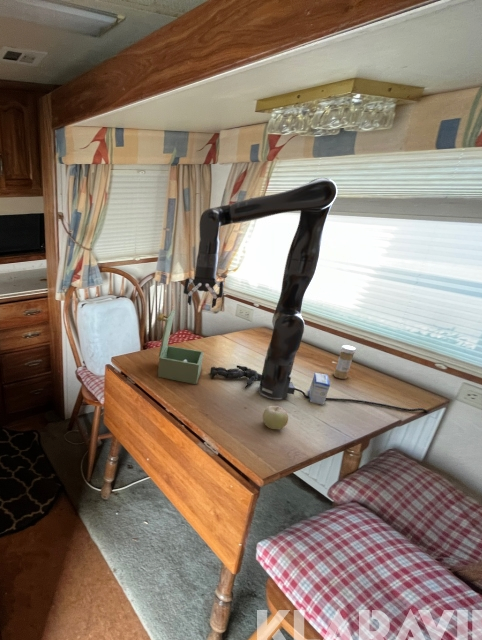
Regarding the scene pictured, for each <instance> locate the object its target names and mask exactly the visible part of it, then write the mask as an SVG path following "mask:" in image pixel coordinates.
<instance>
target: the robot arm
mask: <svg viewBox="0 0 482 640" xmlns="http://www.w3.org/2000/svg"><path fill="white" fill-rule="evenodd" d="M337 195H338V187H337V184H336V183H335V182H334V180H332V179H330V178H328V177H318V178H315V179H312V180H311V181H309V182H307V183H305V184H302V185H299V186H297V187H295V188H292V189H289V190H285V191H282V192H278V193H273V194H268V195H263V196H262V195H261V196H257V197H253V198H248V199H243V200H240V201H236V202H233V203H231V204H226V205H221V206H215V207H210V208H207V209H204V211H203V212H202V214H201V215H200V219H199V244H198V252H197V256H196V263H195V272H194V277H193V278H190V277H187V278H186V279H185V282H184V288H183V294H184V295H187V304H188V306H191V305H192V302H193V294H194V293H196V291H198V292H206V293H207V292H209V293H210V294H211V296H212V301H211V308H212V309H214V308H215V307H216V306H217V301H218V299H219V298H220V299H221V298H222V297H223V296H224V286H225V281H224V280H219V281H218V280H216V279H217V277H216V276H217V270H218V264H219V252H220V251H219V250H220V245H221V244H220V243H221V240H220V237H219V233H220V227H223V226H227V225H231V224H242V223H246V222H251V221H255V220H260V219H263V218H267V217H271V216H275V215H279V214H285V213H289V212H290V213H292V212H300V213H299V220H298V225H297V228H296V231H295V233H294V236H293V238H292V241H291V244H290V247H289V250H288V253H287V257H286V261H285V265H284V271H283V275H282V282H281V291H280V295H279V298H278V301H277V304H276V307H275V310H274V313H273V315H272V318H271V322H272V334H271V338H270V341H269V343H268V344H267V349H266V353H265V356H264V357H265V358H264V362H263V368H262V372H261V375H262V376H261V380H260V381H259V385H258V388H257V390H258V391H257V392H258V393H259V395H261V396H262V397H264V398H266V399H270V400H274V401H281V400H283V401H286V399H287V396H288V395H295V391H297V392H299V393H300V394H302V396H303V397H304V398H307V399H309V400H310V397H309V395H307V394H306V393H305V392H304V390H301V389H300V388H296V387H295V385H294V383H293V382H292V381H291V380H292V370H293V367H294V363H295V359H296V356H297V352H299V349H300V347H301V346H300V345H301V344H302V340H303V336H304V333H305V327H306V325H305V321H304V319H303V317H302V309H303V304H304V303H303V302H304V298H305V295H306V293H307V291H308V289H309V288H310V286H311V284H312V283H313V281H314V278H315V276H316V273H317V270H318V266H319V262H320V260H321V259H320V258H321V255H322V248H323V241H324V231H325V225H326V222H327V219H328V216H329V213H330V211H331V208H332V205H333V203H334V201H335V200H336V198H337ZM191 284H193V285H194V286H193V288H191V290H189V288H190V287H189V286H190V285H191ZM216 285H217V287H218V293H217V292H216V290H215V288H214V287H215V286H216ZM325 401H340V402H341V401H342V402H353V403H354V402H356V403H361V404H367V405H373V406H374V405H375V406H380V407H386V408H389V409H394V410H400V411H406V412H417V411H423V412H424V413H426V414H429V411H428V410H427V409H425V408H422V407H419V408H405V407H399V406H396V405H395V406H394V405H391V404H386V403H379V402H374V401H368V400H362V399H361V400H360V399H353V398H352V399H351V398H338V397H337V398H334V397H326V399H325Z"/></svg>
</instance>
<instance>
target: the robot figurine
mask: <svg viewBox="0 0 482 640" xmlns="http://www.w3.org/2000/svg"><path fill="white" fill-rule="evenodd" d="M216 376H220V377H223V378H224V379H226V380H238V379H242V378H247V380H246V385H245V386H244V388H245V389H247V388H248V387H250V386H252V385H253V383H254V381H259V382H260V380H261V376H262V373H261V374H260V373H259V372H258V371H256V370H255V369H251V368H249V367H247V366H243V365H236V368H228V369H227V368H225V367H221V366H218V367H216V366H211V367H210V378H211V379H215V377H216Z"/></svg>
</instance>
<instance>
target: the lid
mask: <svg viewBox="0 0 482 640" xmlns="http://www.w3.org/2000/svg"><path fill="white" fill-rule="evenodd" d="M175 312H176V309H172V310H171V312H170V313H169V314H168V315H165V314H164V313H160V314H159V316H157V318H156V321H157V322H164V328H163V332H162V337H161V343H160V348H159V351H158V357H159V358H160V357H161V355H162V353H163V352H164V350H165V348H166V347H167V346H169V340H170V336H171V331H172V326H173V322H174V318H175V317H174V316H175Z"/></svg>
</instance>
